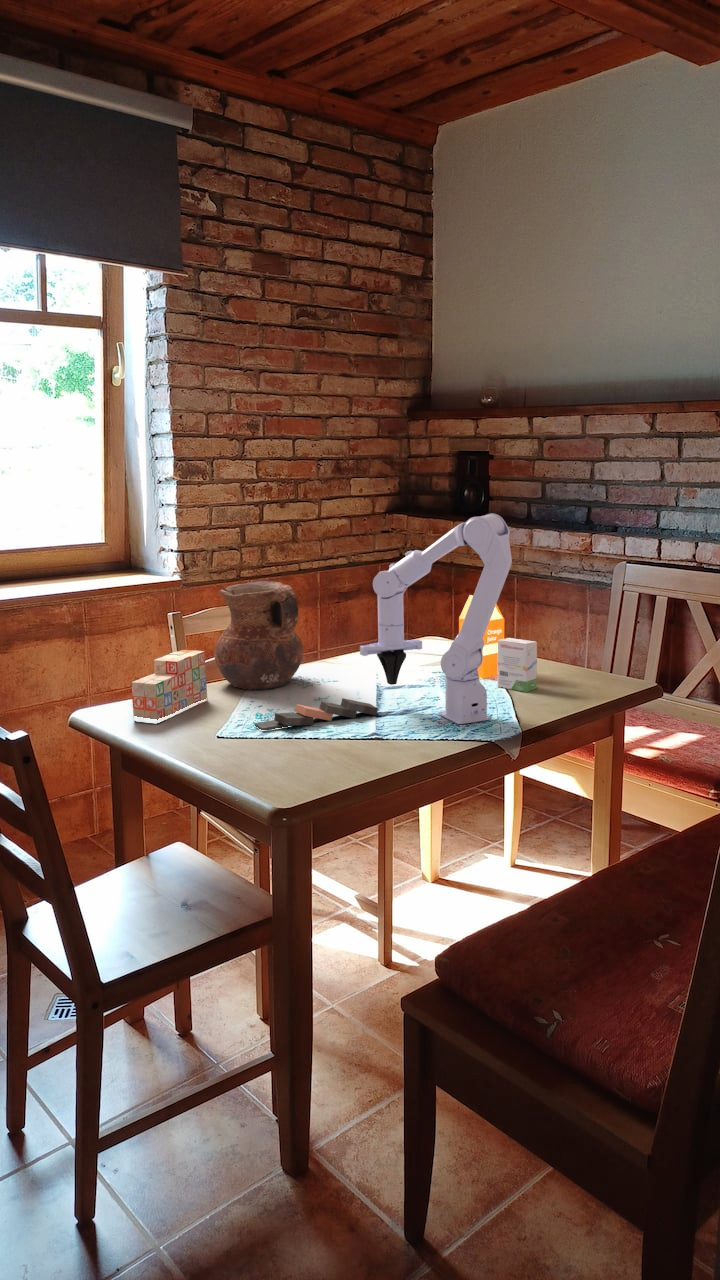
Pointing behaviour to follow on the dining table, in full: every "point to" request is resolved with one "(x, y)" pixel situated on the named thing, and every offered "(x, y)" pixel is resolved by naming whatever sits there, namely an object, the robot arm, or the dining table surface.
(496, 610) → the orange juice
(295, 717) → the tile
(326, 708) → the tile
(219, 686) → the dining table surface
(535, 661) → the ink box
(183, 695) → the stack of blocks
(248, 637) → the jug
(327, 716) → the tile
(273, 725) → the tile
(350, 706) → the tile
